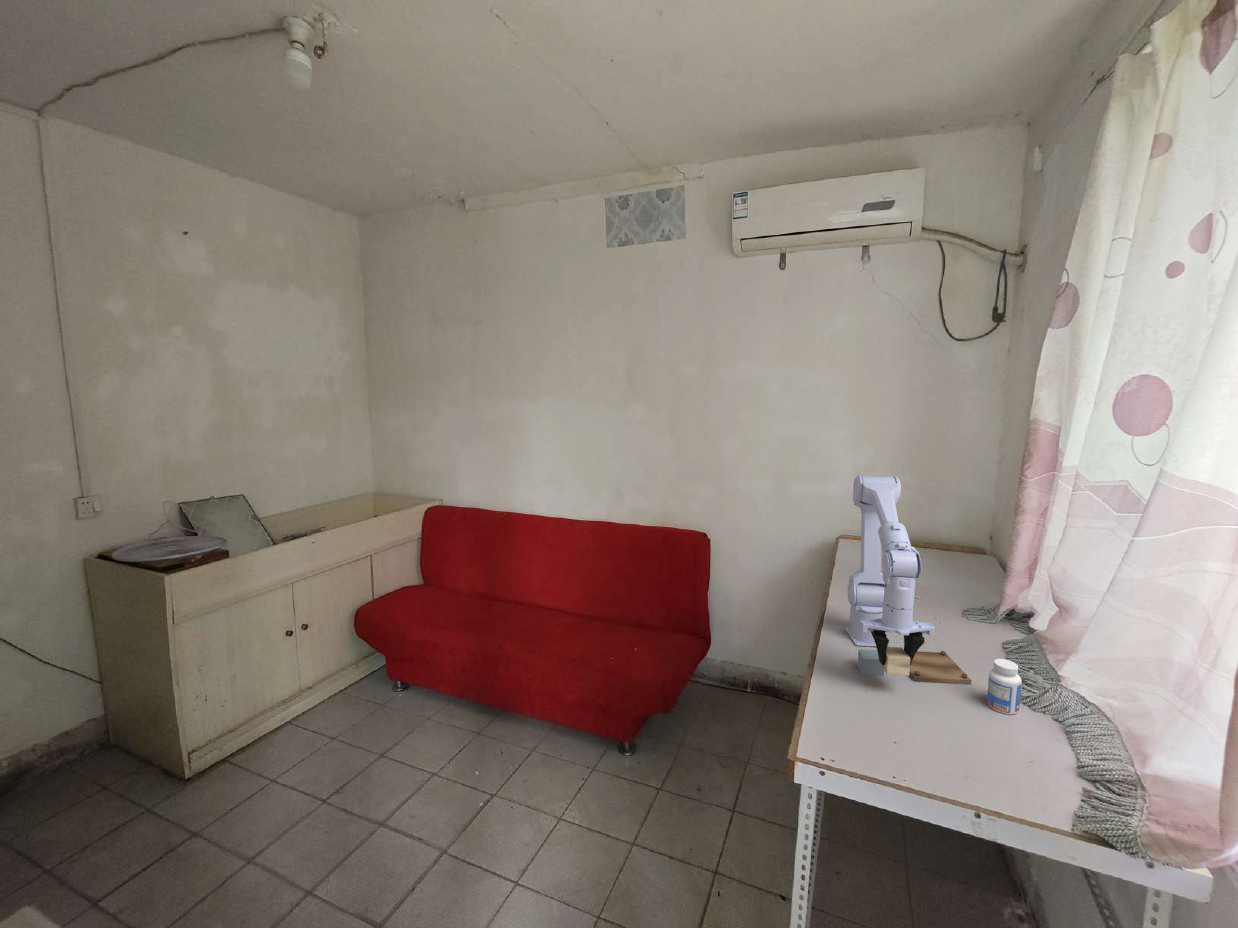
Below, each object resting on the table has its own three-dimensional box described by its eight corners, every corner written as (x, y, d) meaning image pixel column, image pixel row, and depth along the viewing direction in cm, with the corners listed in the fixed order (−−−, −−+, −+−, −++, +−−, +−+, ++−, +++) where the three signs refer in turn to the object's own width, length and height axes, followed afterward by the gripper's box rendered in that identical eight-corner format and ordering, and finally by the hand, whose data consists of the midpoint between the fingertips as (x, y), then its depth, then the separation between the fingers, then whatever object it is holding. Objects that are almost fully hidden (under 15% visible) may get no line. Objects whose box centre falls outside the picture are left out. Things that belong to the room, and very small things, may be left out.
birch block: (879, 663, 115) (880, 646, 114) (900, 664, 114) (901, 647, 114) (887, 674, 111) (888, 656, 110) (909, 675, 110) (910, 658, 109)
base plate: (893, 653, 128) (893, 647, 128) (945, 656, 126) (945, 649, 126) (913, 681, 116) (914, 674, 116) (971, 684, 115) (971, 677, 114)
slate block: (857, 664, 124) (858, 649, 123) (877, 665, 123) (878, 650, 123) (863, 674, 120) (864, 658, 119) (884, 676, 119) (885, 660, 118)
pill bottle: (1005, 698, 109) (1009, 656, 108) (1025, 714, 104) (1030, 670, 103) (980, 699, 109) (984, 657, 108) (999, 715, 104) (1003, 671, 102)
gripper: (869, 611, 107) (865, 671, 109) (943, 613, 105) (938, 674, 107) (858, 597, 114) (855, 654, 116) (928, 599, 112) (923, 657, 114)
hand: (894, 662), depth 112 cm, fingers closed on birch block, 4 cm apart
